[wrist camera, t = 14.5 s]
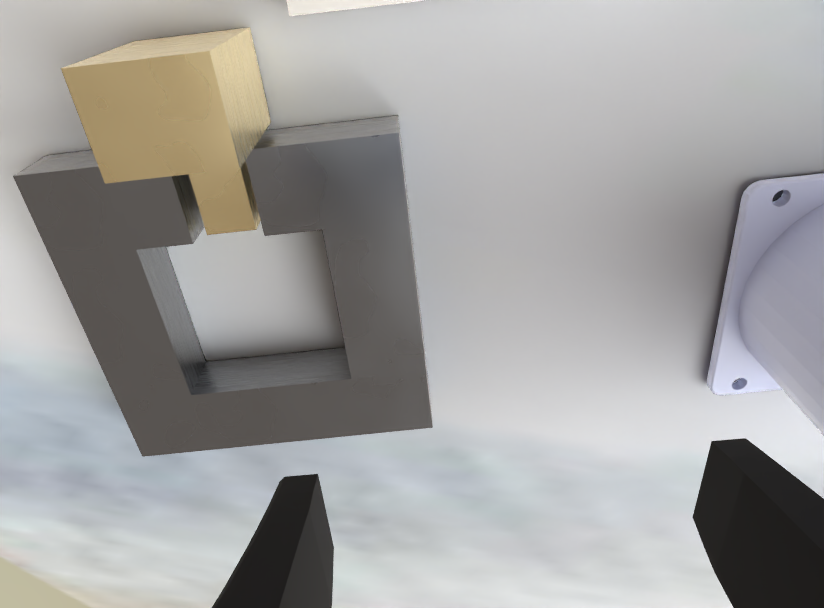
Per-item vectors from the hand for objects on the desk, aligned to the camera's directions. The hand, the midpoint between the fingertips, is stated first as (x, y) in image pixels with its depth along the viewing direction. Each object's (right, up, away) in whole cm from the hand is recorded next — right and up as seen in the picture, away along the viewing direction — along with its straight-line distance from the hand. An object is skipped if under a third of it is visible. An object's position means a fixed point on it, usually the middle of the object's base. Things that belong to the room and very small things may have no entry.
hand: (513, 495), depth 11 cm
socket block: (-7, +4, +8) cm, 11 cm away
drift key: (-7, +8, +5) cm, 12 cm away
